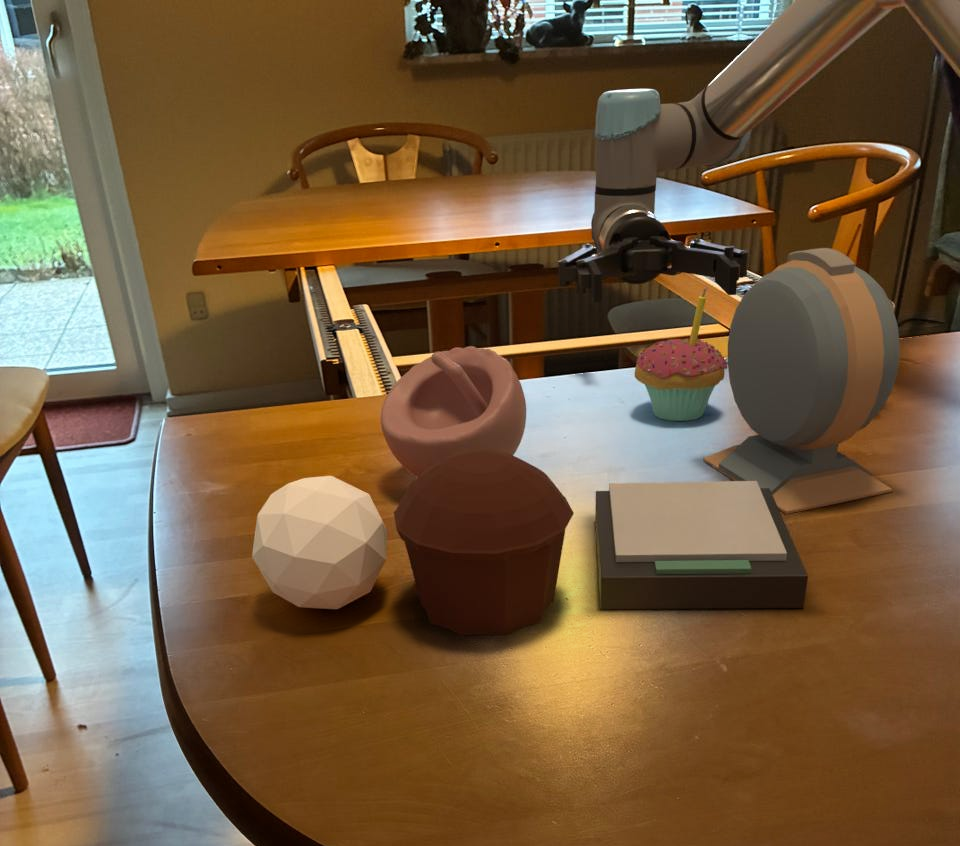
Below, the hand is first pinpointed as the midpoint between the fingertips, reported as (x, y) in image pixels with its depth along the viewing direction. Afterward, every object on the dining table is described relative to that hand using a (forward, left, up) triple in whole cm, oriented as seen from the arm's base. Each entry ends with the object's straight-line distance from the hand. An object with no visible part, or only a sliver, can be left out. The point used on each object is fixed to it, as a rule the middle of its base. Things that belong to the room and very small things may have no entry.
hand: (665, 284), depth 98 cm
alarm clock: (-9, +26, -10) cm, 29 cm away
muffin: (+15, +47, -10) cm, 50 cm away
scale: (+1, +41, -10) cm, 42 cm away
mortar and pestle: (+19, +26, -10) cm, 34 cm away
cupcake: (-1, +10, -10) cm, 14 cm away
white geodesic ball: (+26, +45, -10) cm, 53 cm away
